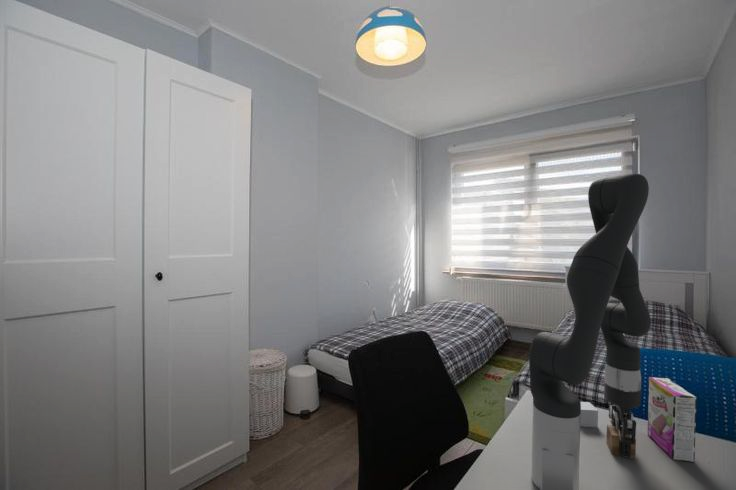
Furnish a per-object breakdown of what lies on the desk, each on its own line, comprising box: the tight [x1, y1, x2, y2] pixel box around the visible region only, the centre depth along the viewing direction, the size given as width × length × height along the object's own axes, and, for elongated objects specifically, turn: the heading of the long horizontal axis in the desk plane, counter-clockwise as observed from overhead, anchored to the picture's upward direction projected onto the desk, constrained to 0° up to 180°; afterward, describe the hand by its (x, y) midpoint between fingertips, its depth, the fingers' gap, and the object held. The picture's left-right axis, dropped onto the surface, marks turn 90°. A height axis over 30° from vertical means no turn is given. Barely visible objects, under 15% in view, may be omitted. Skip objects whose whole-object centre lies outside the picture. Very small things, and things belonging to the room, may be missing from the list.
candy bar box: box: [647, 376, 697, 463], centre depth 90 cm, size 11×5×16 cm, turn 168°
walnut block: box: [605, 424, 637, 459], centre depth 90 cm, size 5×5×5 cm
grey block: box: [580, 401, 599, 428], centre depth 103 cm, size 5×5×5 cm
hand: (620, 447), depth 90 cm, fingers open, 6 cm apart
